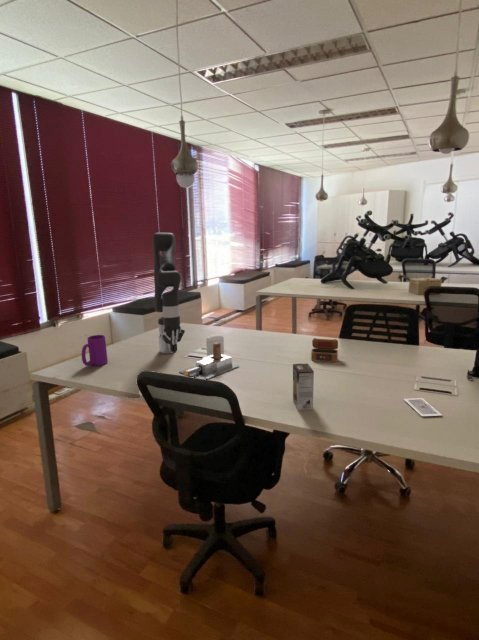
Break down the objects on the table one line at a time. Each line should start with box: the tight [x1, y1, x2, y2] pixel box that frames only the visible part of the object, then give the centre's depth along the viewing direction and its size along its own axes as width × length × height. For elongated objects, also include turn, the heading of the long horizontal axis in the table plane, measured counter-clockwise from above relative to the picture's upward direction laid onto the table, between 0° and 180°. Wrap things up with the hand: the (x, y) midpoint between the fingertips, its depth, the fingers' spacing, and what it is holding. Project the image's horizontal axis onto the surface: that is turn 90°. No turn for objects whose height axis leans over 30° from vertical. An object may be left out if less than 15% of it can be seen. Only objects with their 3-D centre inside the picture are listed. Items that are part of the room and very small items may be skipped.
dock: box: [178, 354, 240, 380], centre depth 198 cm, size 18×25×5 cm
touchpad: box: [403, 397, 443, 417], centre depth 150 cm, size 8×15×2 cm, turn 2°
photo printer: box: [205, 333, 225, 357], centre depth 218 cm, size 10×4×12 cm, turn 123°
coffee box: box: [292, 363, 315, 411], centre depth 154 cm, size 9×6×16 cm
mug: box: [81, 334, 109, 367], centre depth 208 cm, size 9×16×15 cm, turn 156°
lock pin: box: [182, 366, 202, 377], centre depth 191 cm, size 3×13×3 cm, turn 137°
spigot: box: [213, 343, 221, 360], centre depth 200 cm, size 4×4×12 cm
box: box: [310, 337, 339, 363], centre depth 207 cm, size 28×28×12 cm
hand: (173, 351), depth 179 cm, fingers closed
